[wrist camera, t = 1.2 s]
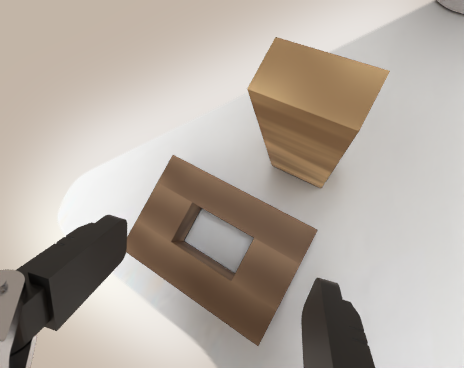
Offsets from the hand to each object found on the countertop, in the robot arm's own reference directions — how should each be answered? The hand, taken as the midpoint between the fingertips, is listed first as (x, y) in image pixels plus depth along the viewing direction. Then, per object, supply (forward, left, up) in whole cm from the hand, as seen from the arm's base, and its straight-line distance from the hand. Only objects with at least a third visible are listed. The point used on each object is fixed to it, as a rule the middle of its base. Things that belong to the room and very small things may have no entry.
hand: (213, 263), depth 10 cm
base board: (+2, -4, -16) cm, 16 cm away
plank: (-9, 0, -16) cm, 18 cm away
